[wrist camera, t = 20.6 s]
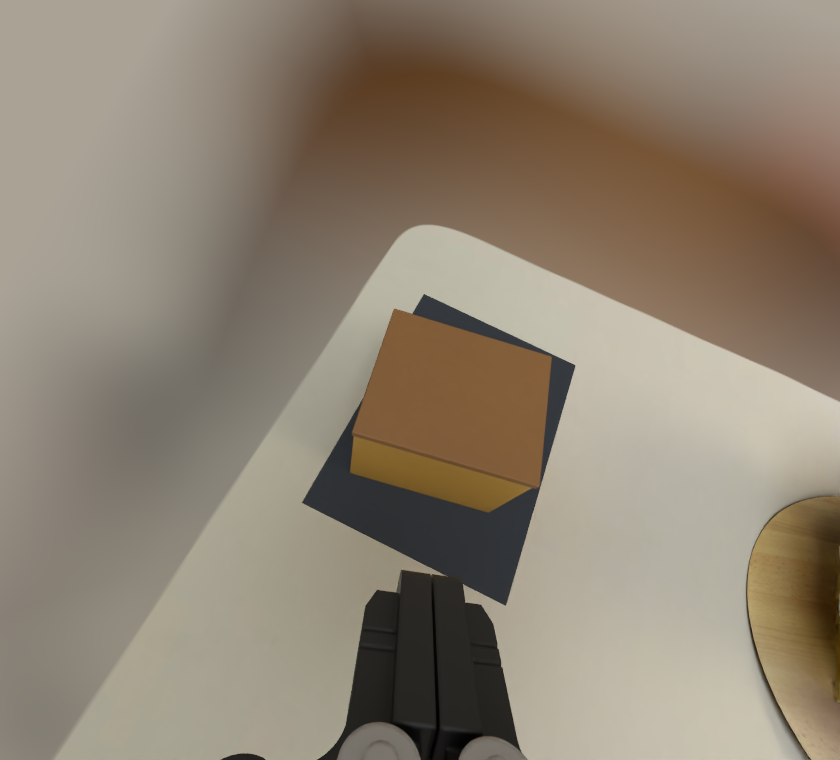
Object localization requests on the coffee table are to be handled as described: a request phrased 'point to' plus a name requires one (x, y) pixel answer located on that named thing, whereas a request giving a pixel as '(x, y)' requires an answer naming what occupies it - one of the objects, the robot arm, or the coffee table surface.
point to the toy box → (452, 414)
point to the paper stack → (801, 619)
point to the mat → (435, 518)
